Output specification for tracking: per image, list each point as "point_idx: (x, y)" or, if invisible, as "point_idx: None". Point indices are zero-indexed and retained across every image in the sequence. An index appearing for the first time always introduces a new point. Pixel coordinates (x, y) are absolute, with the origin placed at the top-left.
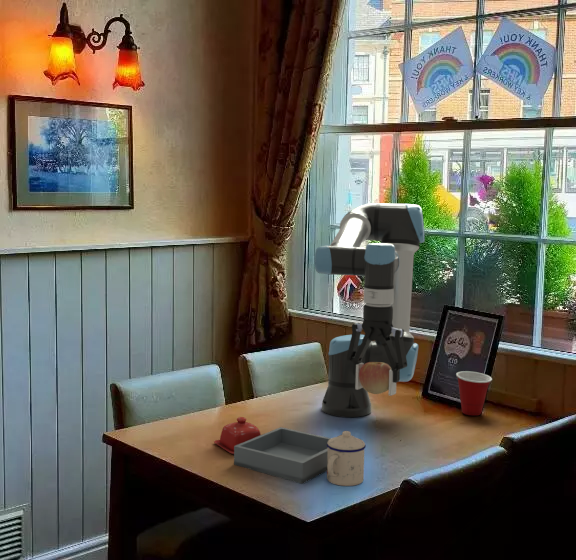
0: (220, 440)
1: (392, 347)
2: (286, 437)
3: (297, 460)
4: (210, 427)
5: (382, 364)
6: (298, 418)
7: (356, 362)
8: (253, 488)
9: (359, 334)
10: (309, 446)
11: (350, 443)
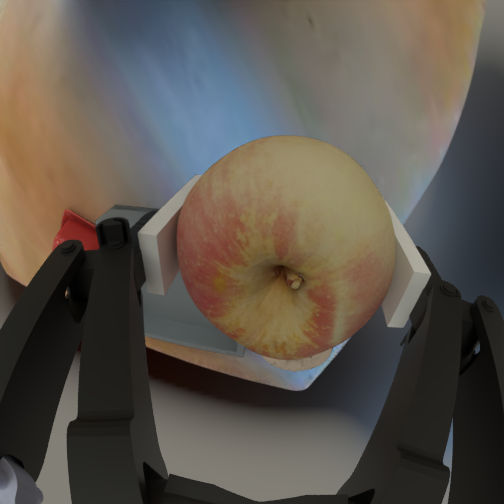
0: None
1: (440, 428)
2: None
3: (230, 351)
4: (16, 192)
5: (339, 328)
6: (56, 49)
7: (142, 299)
8: (206, 356)
9: (7, 426)
10: None
11: (309, 365)
